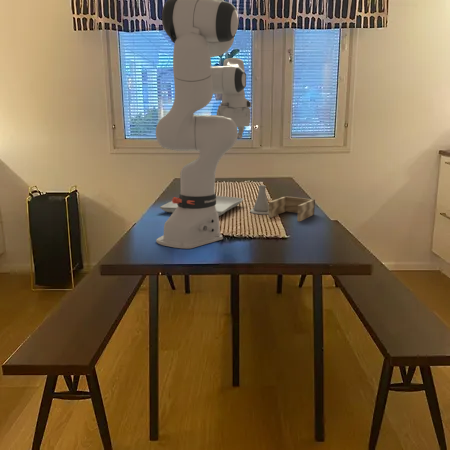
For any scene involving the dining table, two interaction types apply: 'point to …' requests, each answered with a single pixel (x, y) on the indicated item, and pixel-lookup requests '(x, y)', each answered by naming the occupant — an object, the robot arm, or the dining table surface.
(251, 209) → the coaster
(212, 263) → the dining table surface
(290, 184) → the dining table surface
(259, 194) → the flask
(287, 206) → the u-shaped wooden frame
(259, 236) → the dining table surface
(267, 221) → the dining table surface
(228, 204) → the square plate
